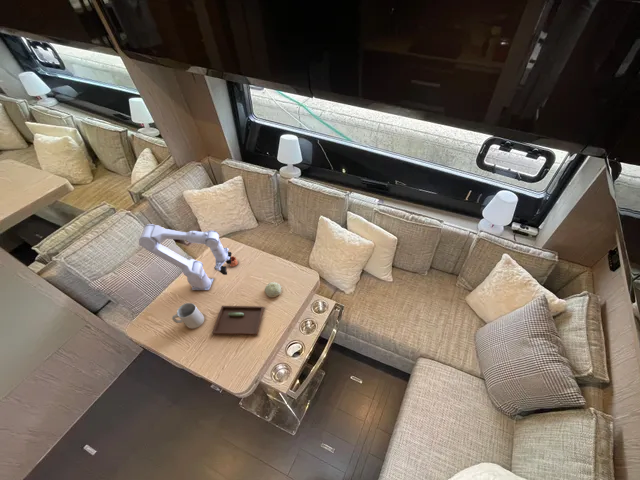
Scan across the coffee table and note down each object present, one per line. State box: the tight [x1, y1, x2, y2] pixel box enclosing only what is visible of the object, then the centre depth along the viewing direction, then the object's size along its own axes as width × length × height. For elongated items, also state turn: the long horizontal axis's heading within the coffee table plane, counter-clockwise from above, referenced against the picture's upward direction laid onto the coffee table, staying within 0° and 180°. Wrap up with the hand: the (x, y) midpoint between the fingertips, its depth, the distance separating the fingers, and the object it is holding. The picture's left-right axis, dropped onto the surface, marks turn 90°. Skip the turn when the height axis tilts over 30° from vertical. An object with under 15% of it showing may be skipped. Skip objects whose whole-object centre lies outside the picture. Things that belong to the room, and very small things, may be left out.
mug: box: [171, 302, 205, 329], centre depth 137 cm, size 12×8×11 cm
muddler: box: [228, 312, 244, 316], centre depth 143 cm, size 2×2×8 cm
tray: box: [211, 305, 265, 336], centre depth 141 cm, size 22×16×2 cm
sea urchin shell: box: [264, 281, 283, 298], centre depth 153 cm, size 9×8×8 cm
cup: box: [228, 255, 239, 268], centre depth 165 cm, size 5×5×4 cm
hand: (227, 268), depth 151 cm, fingers open, 7 cm apart
